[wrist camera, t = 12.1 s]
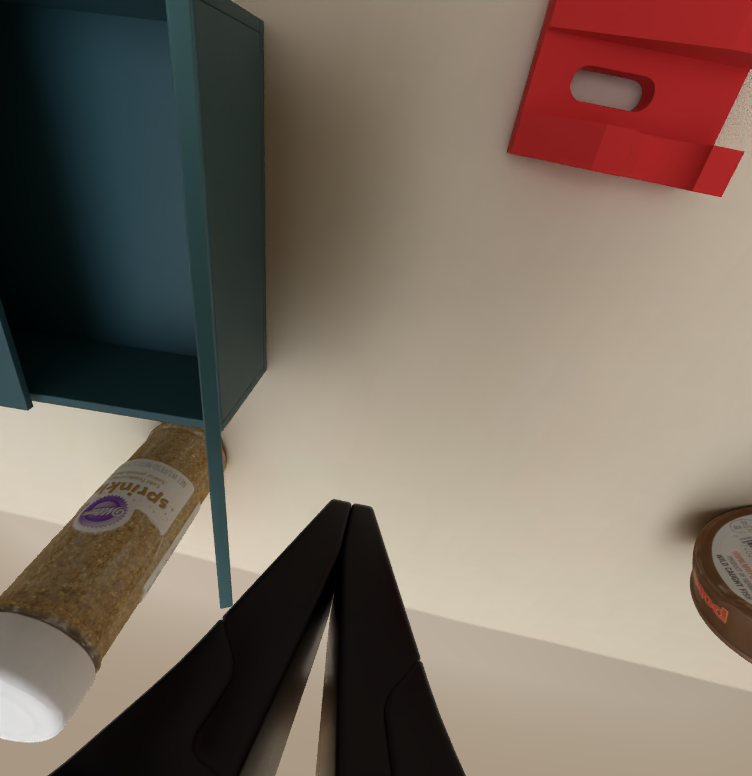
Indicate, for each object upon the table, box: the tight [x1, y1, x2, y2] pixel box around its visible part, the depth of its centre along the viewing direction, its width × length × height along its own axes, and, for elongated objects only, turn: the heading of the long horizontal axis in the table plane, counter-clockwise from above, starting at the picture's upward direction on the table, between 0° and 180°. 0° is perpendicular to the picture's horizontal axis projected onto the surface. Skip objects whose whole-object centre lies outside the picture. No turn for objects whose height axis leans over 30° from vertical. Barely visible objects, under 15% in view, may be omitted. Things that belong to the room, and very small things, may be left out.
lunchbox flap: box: [165, 0, 233, 608], centre depth 11 cm, size 7×14×1 cm
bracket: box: [507, 0, 752, 197], centre depth 15 cm, size 6×5×3 cm
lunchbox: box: [0, 0, 266, 431], centre depth 17 cm, size 15×14×6 cm
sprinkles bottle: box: [0, 422, 226, 743], centre depth 20 cm, size 5×5×13 cm
